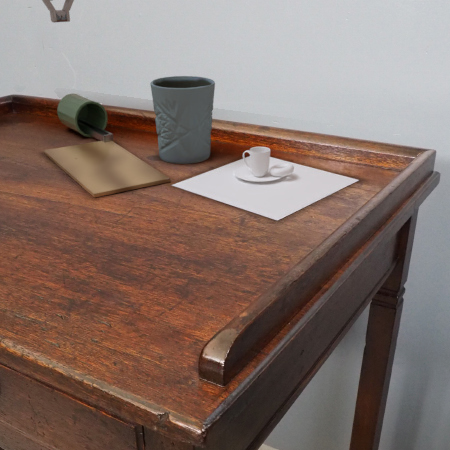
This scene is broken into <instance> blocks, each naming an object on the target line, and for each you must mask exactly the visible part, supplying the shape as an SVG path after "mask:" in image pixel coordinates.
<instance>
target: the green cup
mask: <svg viewBox="0 0 450 450" xmlns="http://www.w3.org/2000/svg"><path fill="white" fill-rule="evenodd" d="M56 109H57V110H56V115H57V117H58V119H59V121H60V123H61V124H62V125H63V126H65V127H66V128H68V129H70V130H72V131H74V132H76V133H77V134H79V135H81V136H83V137H85V138H86V137H87V138H94V137H93V136H91V135H89V134H87V133H85V132H83V131H81V130H80V128H79V127H78V124H77V121H78V122H80V119H83V120H85V121H87V122H89V123H91V124H94V125H96V126H98V127H100V128H102V129H104V130H106V127H107V125H108V122H109V121H108V120H109V118H108V112H107V110H106V109H105V107H104V105H102V104H101V103H100V102H98V101H96V100H93V99H91V98H89V97H86V96H84V95H81V94H78V93H68V94H65V95H64V96H63V97H62V98H61V99H60V100H59V102H58V104H57V107H56Z"/></svg>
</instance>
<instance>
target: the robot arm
mask: <svg viewBox="0 0 450 450" xmlns="http://www.w3.org/2000/svg"><path fill="white" fill-rule="evenodd" d="M41 1H42V2H43V4H44V6H45V7H46V8H47V10H48V11H49V15H50V22H51V23H69V22H70V21H71V17H70V11H71V8H72V6H73V3H74V2H75V0H64V3H63V6H62V9H56V8H55V7H54V5H53V4H52V1H54V0H41Z"/></svg>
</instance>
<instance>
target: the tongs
mask: <svg viewBox="0 0 450 450" xmlns="http://www.w3.org/2000/svg"><path fill="white" fill-rule="evenodd" d="M77 124H78V127H79V128H80V130H81V131H83V132H85V133H87V134H89V135H91V136H93V137H92V138H95V139H97V140H98V141H102V142H108V141H113V142H114V134H113V132H110V131H108V130H106V129H102V128H100V127H98V126H96V125H94V124H91V123H89V122H87V121H85V120H83V119H80V122H78V121H77Z"/></svg>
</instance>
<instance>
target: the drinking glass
mask: <svg viewBox="0 0 450 450" xmlns="http://www.w3.org/2000/svg"><path fill="white" fill-rule="evenodd" d="M149 85H150V91H151V97H152V105H153V110H154V114H155V118H154V121H155V128H156V134H157V145H158V155H159V158H160V160H161V161H163V162H166V163H169V164H175V165H177V164H178V165H190V164H197V163H200V162H204V161H206V160H208V159H209V158H210V156H211V147H212V144H211V142H212V135H211V133H212V129H213V110H214V100H215V87H216V83H215V80H214V79H211V78H208V77H205V76H204V77H203V76H195V75H194V76H193V75H175V76H165V77H159V78H155V79H152V80H151V81H150V84H149Z"/></svg>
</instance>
